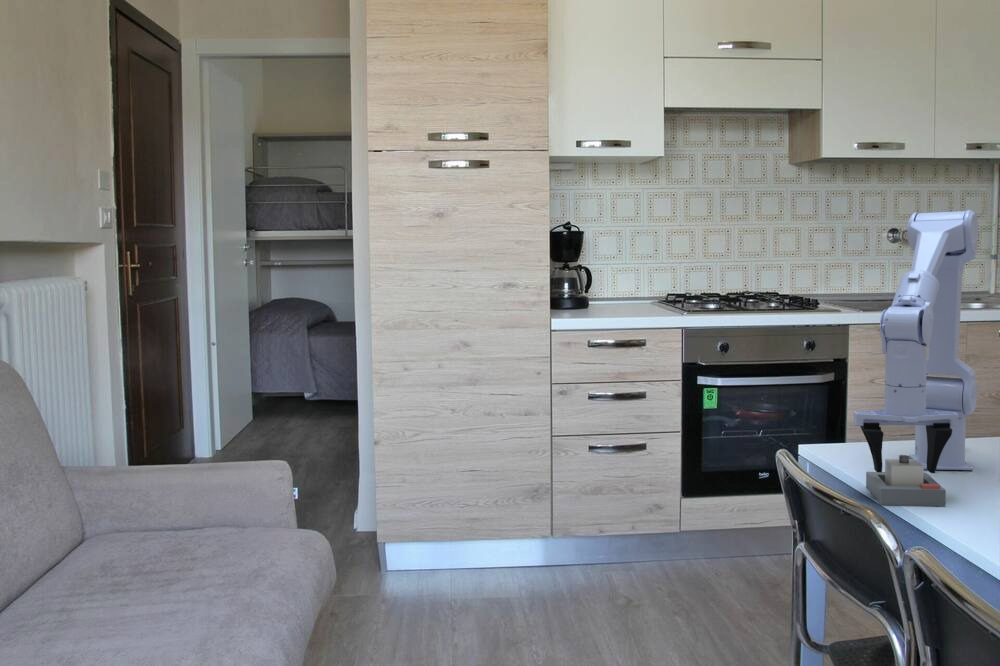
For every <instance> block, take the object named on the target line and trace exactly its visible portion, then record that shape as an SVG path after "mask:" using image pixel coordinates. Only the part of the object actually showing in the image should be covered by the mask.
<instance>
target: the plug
mask: <svg viewBox="0 0 1000 666" xmlns="http://www.w3.org/2000/svg"><path fill="white" fill-rule="evenodd" d="M924 470H925V469H924V466H923V465H922V464H921V463H920V462H918V461H917V460H916V459H912V458H910V457H909V455H906V454H900V455H898V458H884V472H885V484H886V485H887V486H920V484H923V476H924V473H925V472H924Z"/></svg>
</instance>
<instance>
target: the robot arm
mask: <svg viewBox="0 0 1000 666" xmlns="http://www.w3.org/2000/svg"><path fill="white" fill-rule="evenodd" d="M906 227H907V228H906V229H907V230H906V231H907V233H906V235H907V241H908V244H909V245H908V246H910V248H911V251H913V256H912V257H913V258H912V263H911V268H910V271H908V272H907V271H906V272H905V273H903V274H902V275H901V278H900V280H899V283H898V286H897V289H896V291H895V294H894V297H893V300H892V302H891V303H892V304H891V306H889V307H888V308H886V309H884V310H882V313H881V314H880V315H881V316H880V321H879V322H880V323H879V334H880V338H881V344H882V345H881V348H882V355H885V357H884V359H885V360H884V361H885V362H884V363H885V365H884V366H885V367H884V369H885V372H884V375H885V377H884V379H885V380H884V381H885V382H884V383H885V384H884V409H877V410H876V409H874V410H863V411H862V410H859V411H856V410H855V411H853V424H854V425H855V426H856V427H860V429H861V431H862V434H863V435H864V438H865V439H866V442H867V444H868V448H869V451H870V454H871V458H872V462H873V470H874V472H883V456H882V455H883V453H882V452H883V440H884V434H885V433H884V432H883V431H882V427H881V426H915V427H914V431H915V432H914V433H915V434H914V437H915V438H914V440H915V441H914V453H910V454H908V456H909V459H916V460H917V461H918V462H920V463H921V464H922V465H923V466H924V470H926V471H928V472H929V473H930V474H936V472H937V470H940V471H941V470H942V471H943V470H945V471H946V470H947V471H949V470H951V471H952V470H953V471H954V470H955V471H973V470H974V467H973V466H972V465H970V464H969V463H968V462H967V461H966V460H965V459H966V419H967V416H970V415H971V414H972V413H974V412H975V409H976V407H977V401H978V400H977V398H978V386H977V381H976V380H977V374H976V372H975V371H974V369H973V368H972V367H970V366H969V365H968V364H966V363H965V362H964V361H962V360H961V359H960V358H959V353H960V352H959V349H960V348H959V347H960V329H961V312H962V311H961V310H962V308H961V307H962V288H963V287H962V285H963V283H962V281H963V274H964V269H965V265H966V263H969V262H971V261H973V260H975V259H976V254H977V252H978V238H979V237H978V236H979V235H978V234H979V233H978V232H979V226H978V218H977V214H976V213H975V212H974V211H973V210H972V209H970V210H969V209H967V210H961V211H959V210H958V211H940V212H921V213H919V212H913V213H912V215H910V216H909V219H908V222H907V226H906ZM927 350H928V352H927ZM927 353H928V354H927ZM927 355H928V356H927ZM927 357H928V358H927ZM928 375H930V376H928ZM931 375H943V376H931ZM944 376H955V377H944ZM957 377H958V378H957Z"/></svg>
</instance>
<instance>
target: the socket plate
mask: <svg viewBox="0 0 1000 666" xmlns="http://www.w3.org/2000/svg"><path fill="white" fill-rule="evenodd" d="M865 475H866V476H865V477H866V478H865V487H866V489H867V490H868V491H869V493H870V494H871V495H872V496H873V497H874V499H876V502H878V504H879V505H880V506H907V507H908V506H909V507H910V506H912V507H913V506H914V507H946V495H947V494H946V491H947V490H946V488H944V487H943V486H942V485H941V484H940V483H939V482H937V480H935V479H934V478H933V477H932V476H931V475H930V474H929V473H927V472H924V476H923V484H920V486H887V485H886V484H885V471H882V472H876V471H866V474H865Z"/></svg>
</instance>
